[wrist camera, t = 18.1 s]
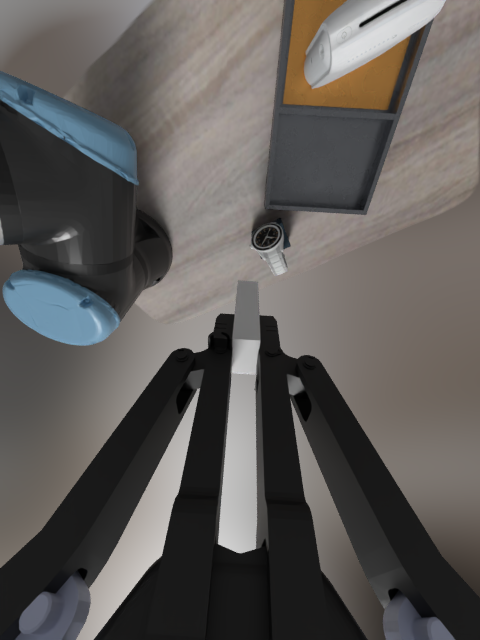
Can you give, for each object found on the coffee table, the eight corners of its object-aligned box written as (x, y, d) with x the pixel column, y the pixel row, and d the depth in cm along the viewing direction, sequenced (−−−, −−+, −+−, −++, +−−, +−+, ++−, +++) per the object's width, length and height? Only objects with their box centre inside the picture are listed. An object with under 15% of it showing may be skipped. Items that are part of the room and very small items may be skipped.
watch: (276, 206, 41) (283, 225, 32) (291, 248, 45) (301, 274, 36) (246, 221, 42) (245, 242, 33) (264, 260, 46) (266, 288, 38)
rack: (264, 204, 40) (264, 208, 38) (287, -37, 26) (291, -55, 23) (359, 210, 40) (366, 214, 38) (436, -28, 26) (455, -46, 23)
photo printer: (306, 96, 31) (332, 75, 21) (298, 52, 29) (323, 6, 19) (392, 51, 29) (465, 3, 19) (390, -2, 26) (474, -88, 16)
